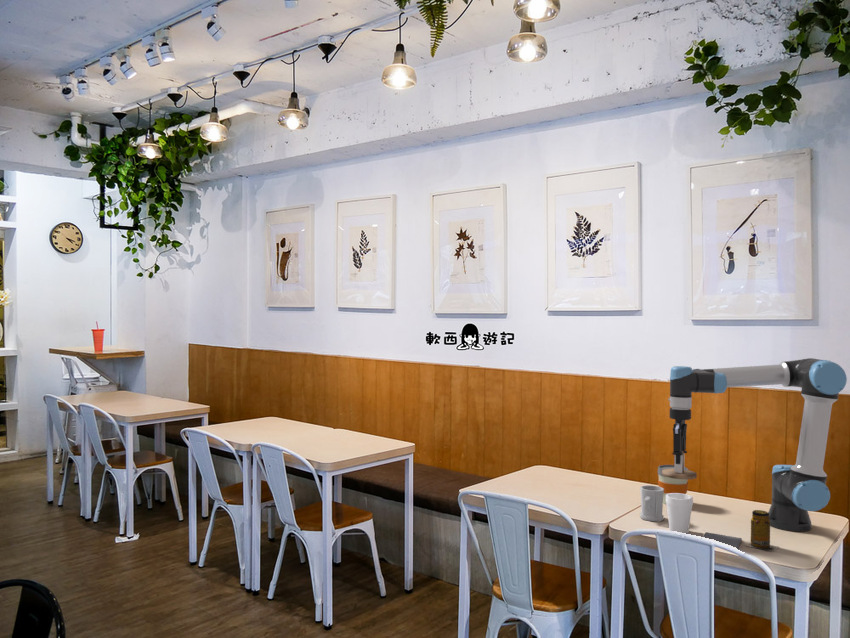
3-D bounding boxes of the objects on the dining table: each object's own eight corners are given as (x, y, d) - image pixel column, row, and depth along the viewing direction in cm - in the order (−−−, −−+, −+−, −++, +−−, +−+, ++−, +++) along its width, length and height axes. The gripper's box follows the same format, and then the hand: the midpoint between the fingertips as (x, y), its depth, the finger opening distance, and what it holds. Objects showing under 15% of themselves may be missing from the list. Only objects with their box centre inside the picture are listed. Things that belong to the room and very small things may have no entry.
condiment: (753, 541, 239) (753, 507, 239) (779, 547, 233) (779, 512, 233) (746, 546, 234) (746, 512, 234) (772, 552, 228) (773, 517, 228)
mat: (741, 540, 240) (741, 538, 240) (737, 550, 230) (737, 548, 230) (705, 534, 246) (705, 532, 246) (699, 543, 236) (699, 541, 236)
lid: (699, 474, 251) (699, 450, 251) (693, 481, 241) (693, 456, 241) (665, 470, 257) (666, 446, 257) (658, 476, 247) (659, 451, 247)
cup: (668, 523, 259) (668, 492, 259) (644, 523, 259) (645, 492, 259) (658, 515, 269) (659, 485, 269) (636, 514, 269) (636, 485, 269)
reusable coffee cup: (682, 499, 293) (683, 464, 293) (692, 507, 280) (693, 471, 280) (653, 498, 293) (653, 464, 293) (662, 507, 281) (662, 471, 281)
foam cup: (694, 536, 244) (695, 500, 244) (667, 534, 246) (668, 499, 245) (689, 528, 253) (690, 493, 253) (663, 526, 255) (664, 492, 255)
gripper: (674, 405, 258) (673, 466, 258) (665, 409, 244) (663, 474, 244) (695, 406, 254) (694, 468, 254) (686, 411, 240) (685, 477, 240)
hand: (679, 471), depth 249 cm, fingers closed on lid, 3 cm apart
